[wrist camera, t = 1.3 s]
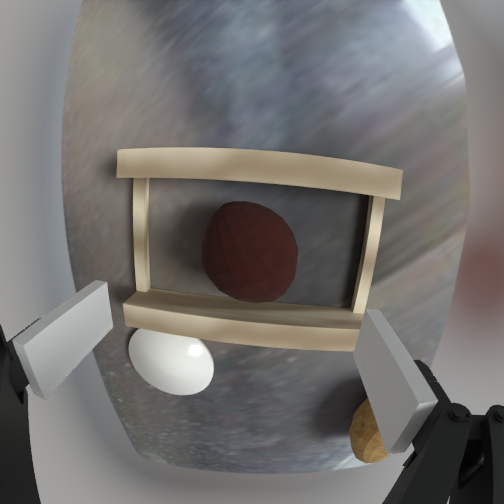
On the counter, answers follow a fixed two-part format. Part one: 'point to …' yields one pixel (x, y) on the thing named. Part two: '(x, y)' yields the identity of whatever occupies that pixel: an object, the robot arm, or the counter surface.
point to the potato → (366, 435)
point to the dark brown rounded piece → (249, 252)
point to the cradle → (230, 309)
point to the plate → (171, 361)
